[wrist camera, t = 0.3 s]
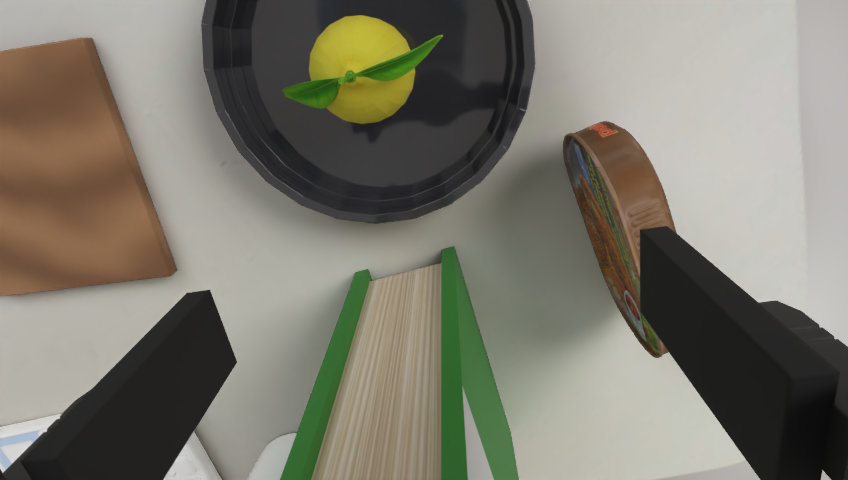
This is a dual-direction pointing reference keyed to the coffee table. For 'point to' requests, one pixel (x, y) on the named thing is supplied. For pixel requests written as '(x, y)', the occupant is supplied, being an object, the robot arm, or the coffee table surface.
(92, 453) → the robot arm
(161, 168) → the coffee table surface
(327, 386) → the hardback book
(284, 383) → the coffee table surface
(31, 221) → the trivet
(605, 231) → the tin
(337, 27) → the lemon
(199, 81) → the coffee table surface
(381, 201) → the pan
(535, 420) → the coffee table surface
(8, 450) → the calculator
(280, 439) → the candle holder
